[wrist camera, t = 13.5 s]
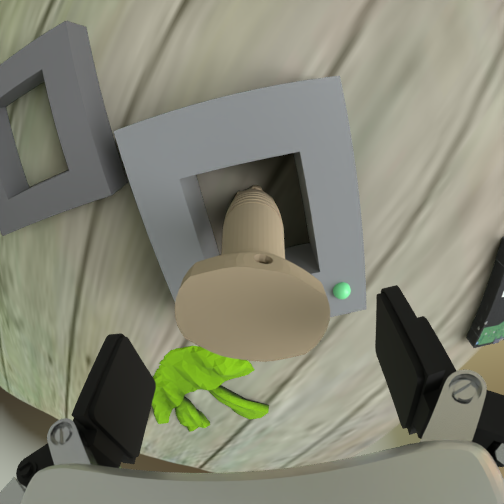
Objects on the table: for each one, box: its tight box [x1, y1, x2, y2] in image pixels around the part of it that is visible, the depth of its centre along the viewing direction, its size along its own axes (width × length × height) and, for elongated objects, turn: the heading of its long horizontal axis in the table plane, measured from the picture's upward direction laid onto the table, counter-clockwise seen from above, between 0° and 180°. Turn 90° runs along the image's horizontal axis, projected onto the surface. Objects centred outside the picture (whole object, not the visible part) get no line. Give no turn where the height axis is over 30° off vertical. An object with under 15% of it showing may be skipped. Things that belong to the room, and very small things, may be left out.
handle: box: [175, 185, 330, 362], centre depth 20 cm, size 5×6×15 cm
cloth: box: [152, 346, 269, 432], centre depth 38 cm, size 20×22×2 cm
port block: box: [114, 76, 366, 317], centre depth 24 cm, size 18×15×6 cm
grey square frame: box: [0, 21, 128, 236], centre depth 21 cm, size 15×14×4 cm
